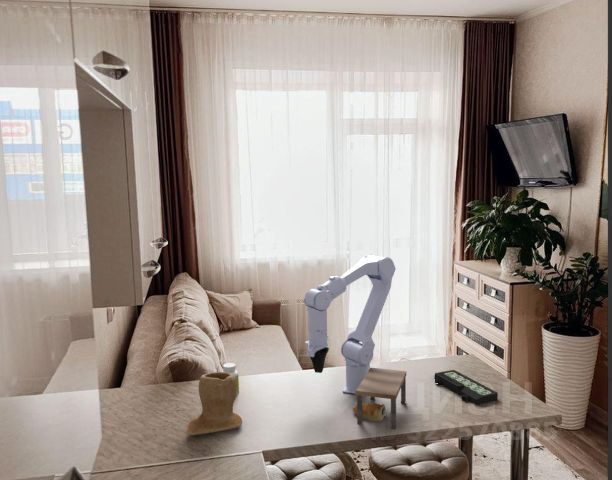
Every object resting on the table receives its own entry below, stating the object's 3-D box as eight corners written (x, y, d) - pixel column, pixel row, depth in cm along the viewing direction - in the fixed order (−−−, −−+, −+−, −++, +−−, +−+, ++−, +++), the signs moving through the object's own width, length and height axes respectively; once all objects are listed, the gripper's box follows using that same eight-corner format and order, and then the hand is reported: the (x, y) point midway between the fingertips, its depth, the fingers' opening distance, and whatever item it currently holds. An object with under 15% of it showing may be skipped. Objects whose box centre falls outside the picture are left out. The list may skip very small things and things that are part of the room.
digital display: (429, 372, 173) (454, 368, 176) (429, 381, 173) (453, 377, 177) (472, 397, 153) (499, 391, 157) (472, 407, 154) (498, 402, 157)
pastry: (349, 418, 149) (349, 405, 148) (357, 408, 155) (356, 396, 154) (381, 423, 145) (381, 410, 144) (387, 413, 151) (387, 400, 151)
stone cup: (237, 413, 153) (235, 364, 151) (245, 432, 142) (242, 379, 140) (184, 422, 148) (182, 371, 146) (188, 442, 137) (185, 387, 135)
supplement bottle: (237, 397, 164) (236, 368, 163) (220, 397, 164) (219, 368, 163) (240, 390, 169) (239, 361, 168) (223, 390, 169) (222, 362, 168)
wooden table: (370, 397, 161) (370, 367, 160) (406, 401, 157) (406, 371, 156) (356, 423, 144) (356, 390, 143) (396, 429, 141) (395, 395, 139)
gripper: (312, 321, 165) (314, 362, 167) (296, 334, 151) (298, 379, 153) (334, 322, 162) (335, 364, 164) (319, 336, 149) (320, 381, 151)
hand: (318, 371), depth 158 cm, fingers closed
